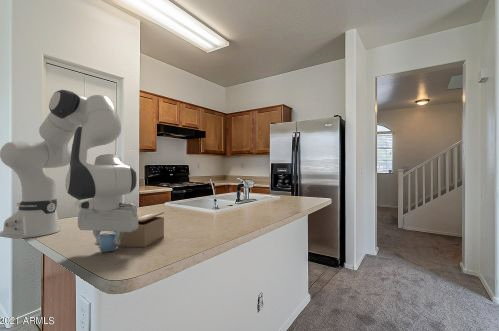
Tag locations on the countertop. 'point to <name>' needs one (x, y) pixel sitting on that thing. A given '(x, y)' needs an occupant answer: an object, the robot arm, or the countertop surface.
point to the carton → (144, 233)
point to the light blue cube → (107, 241)
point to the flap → (148, 216)
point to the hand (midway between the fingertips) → (108, 243)
